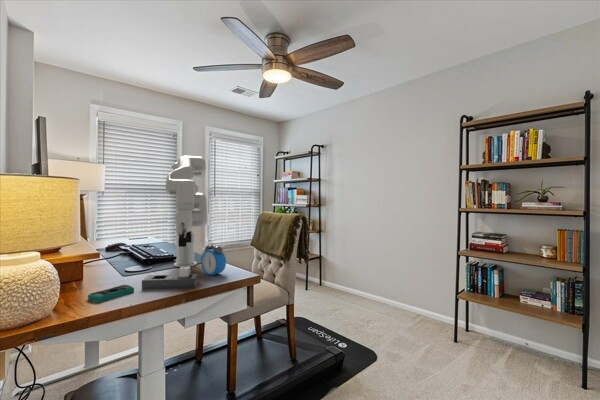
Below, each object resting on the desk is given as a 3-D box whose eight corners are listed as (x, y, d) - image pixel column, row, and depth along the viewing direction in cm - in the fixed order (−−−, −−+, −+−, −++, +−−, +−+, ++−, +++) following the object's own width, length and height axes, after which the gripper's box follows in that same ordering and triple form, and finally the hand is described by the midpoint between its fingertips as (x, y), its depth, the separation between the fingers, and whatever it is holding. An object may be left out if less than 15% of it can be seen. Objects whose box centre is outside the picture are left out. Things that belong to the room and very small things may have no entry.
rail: (148, 283, 132) (148, 275, 132) (198, 282, 136) (198, 273, 136) (141, 289, 125) (141, 280, 124) (194, 287, 128) (194, 278, 128)
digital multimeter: (135, 292, 122) (135, 285, 122) (97, 304, 109) (97, 296, 109) (125, 290, 125) (125, 283, 125) (86, 301, 112) (86, 293, 112)
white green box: (181, 281, 133) (181, 266, 133) (190, 281, 133) (190, 266, 133) (179, 284, 129) (179, 269, 129) (188, 284, 129) (188, 268, 129)
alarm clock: (200, 273, 150) (200, 245, 150) (210, 271, 156) (210, 243, 155) (217, 277, 143) (217, 247, 143) (226, 275, 148) (226, 246, 148)
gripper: (181, 205, 138) (181, 241, 139) (170, 208, 121) (170, 248, 122) (197, 205, 139) (197, 240, 140) (189, 208, 122) (189, 248, 123)
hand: (185, 244), depth 131 cm, fingers open, 9 cm apart
